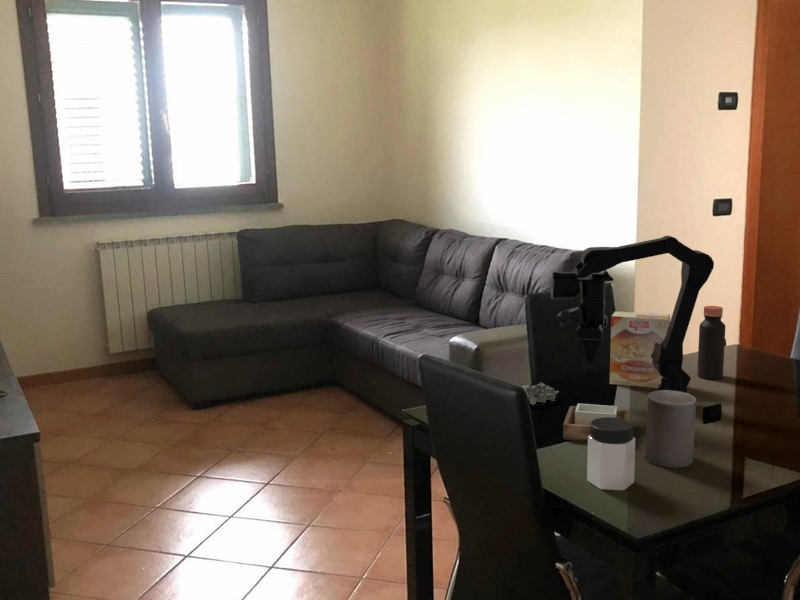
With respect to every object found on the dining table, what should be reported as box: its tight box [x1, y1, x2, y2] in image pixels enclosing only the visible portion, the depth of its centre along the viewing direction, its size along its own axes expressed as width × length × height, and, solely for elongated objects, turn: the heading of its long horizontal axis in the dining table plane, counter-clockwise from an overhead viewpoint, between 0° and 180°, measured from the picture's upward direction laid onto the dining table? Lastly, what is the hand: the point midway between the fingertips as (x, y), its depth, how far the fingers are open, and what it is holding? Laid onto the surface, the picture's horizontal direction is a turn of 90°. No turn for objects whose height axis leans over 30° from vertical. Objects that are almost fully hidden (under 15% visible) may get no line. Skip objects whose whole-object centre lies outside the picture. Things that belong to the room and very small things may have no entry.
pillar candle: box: [644, 390, 697, 469], centre depth 165 cm, size 10×10×15 cm
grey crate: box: [575, 403, 618, 425], centre depth 183 cm, size 9×6×5 cm, turn 72°
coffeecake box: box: [609, 310, 671, 389], centre depth 219 cm, size 15×7×20 cm, turn 67°
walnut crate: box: [562, 405, 630, 442], centre depth 183 cm, size 14×14×4 cm
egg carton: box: [524, 381, 560, 405], centre depth 207 cm, size 11×8×4 cm
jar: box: [586, 417, 636, 491], centre depth 155 cm, size 9×8×12 cm
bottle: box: [696, 305, 726, 381], centre depth 223 cm, size 7×7×20 cm
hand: (591, 358), depth 201 cm, fingers open, 9 cm apart
